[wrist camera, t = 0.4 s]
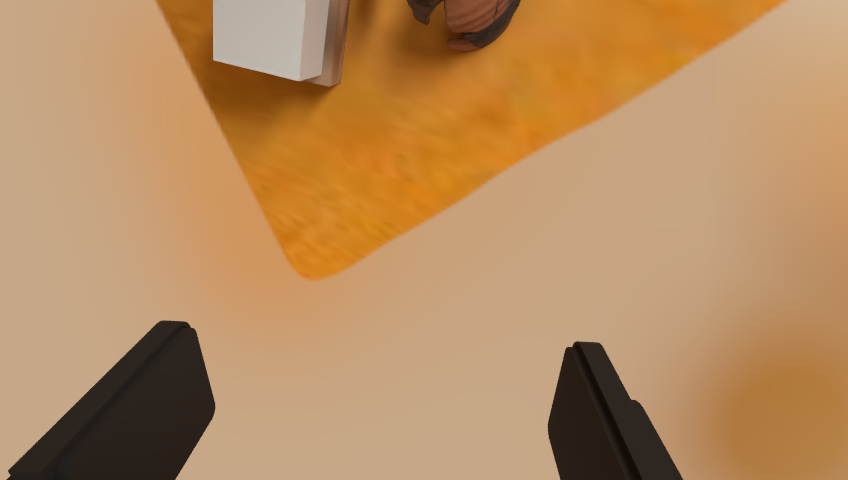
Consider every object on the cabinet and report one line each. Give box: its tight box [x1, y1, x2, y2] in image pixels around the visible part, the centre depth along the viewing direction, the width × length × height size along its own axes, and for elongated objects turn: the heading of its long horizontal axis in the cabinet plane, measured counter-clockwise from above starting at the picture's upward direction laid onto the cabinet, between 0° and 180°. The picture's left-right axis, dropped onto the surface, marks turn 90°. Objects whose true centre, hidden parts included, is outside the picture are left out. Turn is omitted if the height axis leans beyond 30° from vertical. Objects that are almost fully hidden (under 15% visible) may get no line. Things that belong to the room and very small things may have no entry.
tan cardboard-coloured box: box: [302, 0, 350, 87], centre depth 32 cm, size 7×7×4 cm
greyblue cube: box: [213, 0, 329, 81], centre depth 27 cm, size 6×6×6 cm
